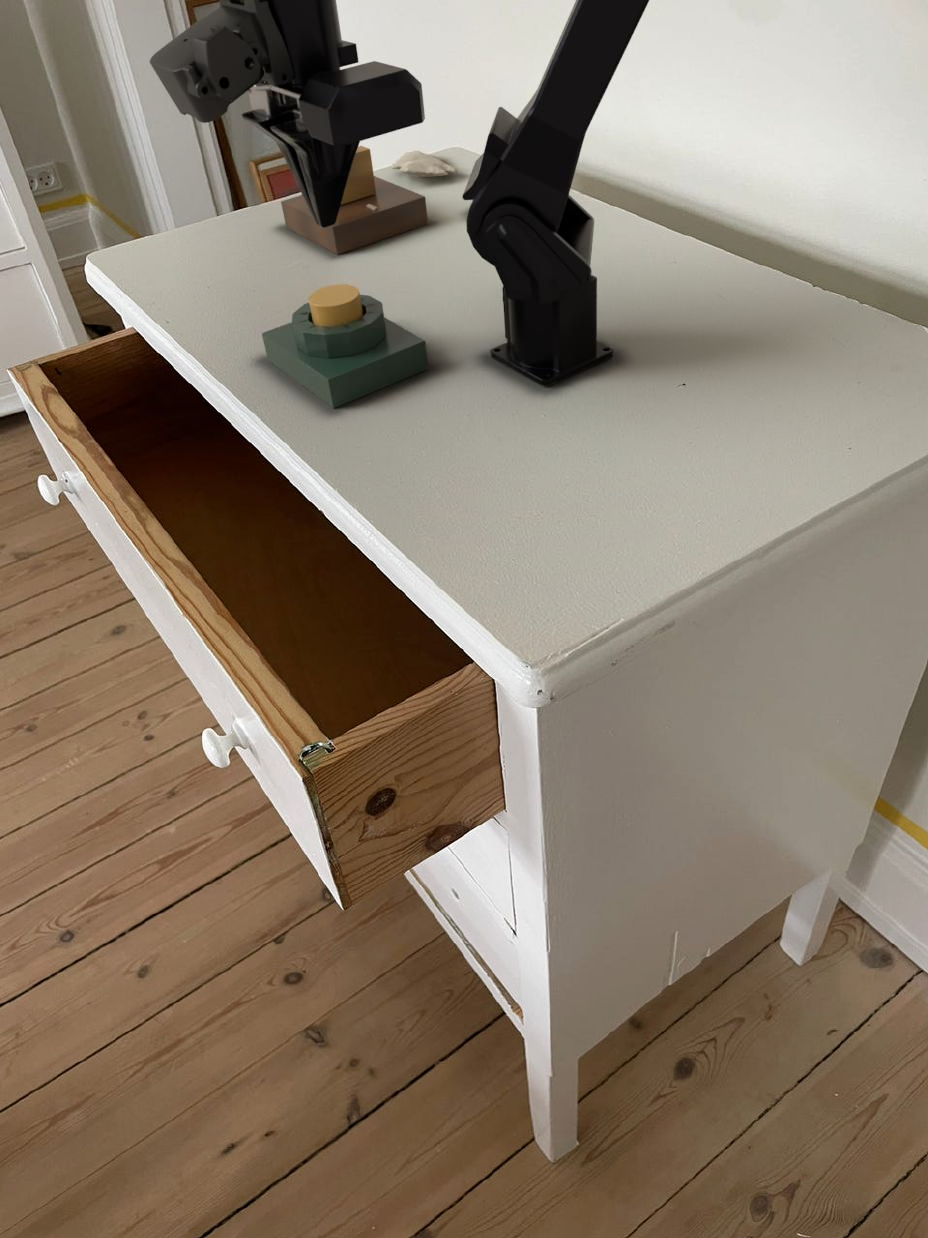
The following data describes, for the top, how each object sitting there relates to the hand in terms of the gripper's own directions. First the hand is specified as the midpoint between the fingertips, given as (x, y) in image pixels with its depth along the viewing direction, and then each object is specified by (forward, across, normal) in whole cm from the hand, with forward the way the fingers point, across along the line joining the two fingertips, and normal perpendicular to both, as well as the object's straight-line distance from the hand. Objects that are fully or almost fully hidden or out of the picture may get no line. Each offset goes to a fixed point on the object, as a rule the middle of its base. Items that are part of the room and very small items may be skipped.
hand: (326, 224), depth 65 cm
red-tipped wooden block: (+7, -24, +15) cm, 29 cm away
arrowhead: (+9, -27, +26) cm, 38 cm away
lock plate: (+10, -24, +15) cm, 30 cm away
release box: (+10, 0, 0) cm, 10 cm away
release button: (+6, 0, -1) cm, 6 cm away
